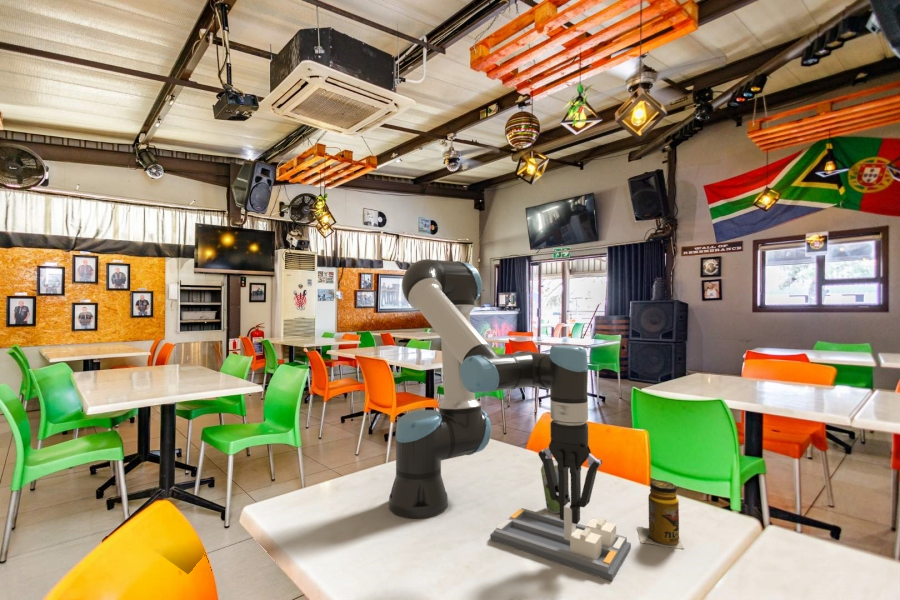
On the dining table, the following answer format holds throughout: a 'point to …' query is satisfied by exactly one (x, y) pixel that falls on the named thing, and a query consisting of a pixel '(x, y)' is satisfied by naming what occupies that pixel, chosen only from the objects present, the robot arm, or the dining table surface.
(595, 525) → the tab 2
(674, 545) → the condiment
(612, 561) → the switch bank
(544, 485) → the beverage can
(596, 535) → the tab
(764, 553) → the dining table surface
